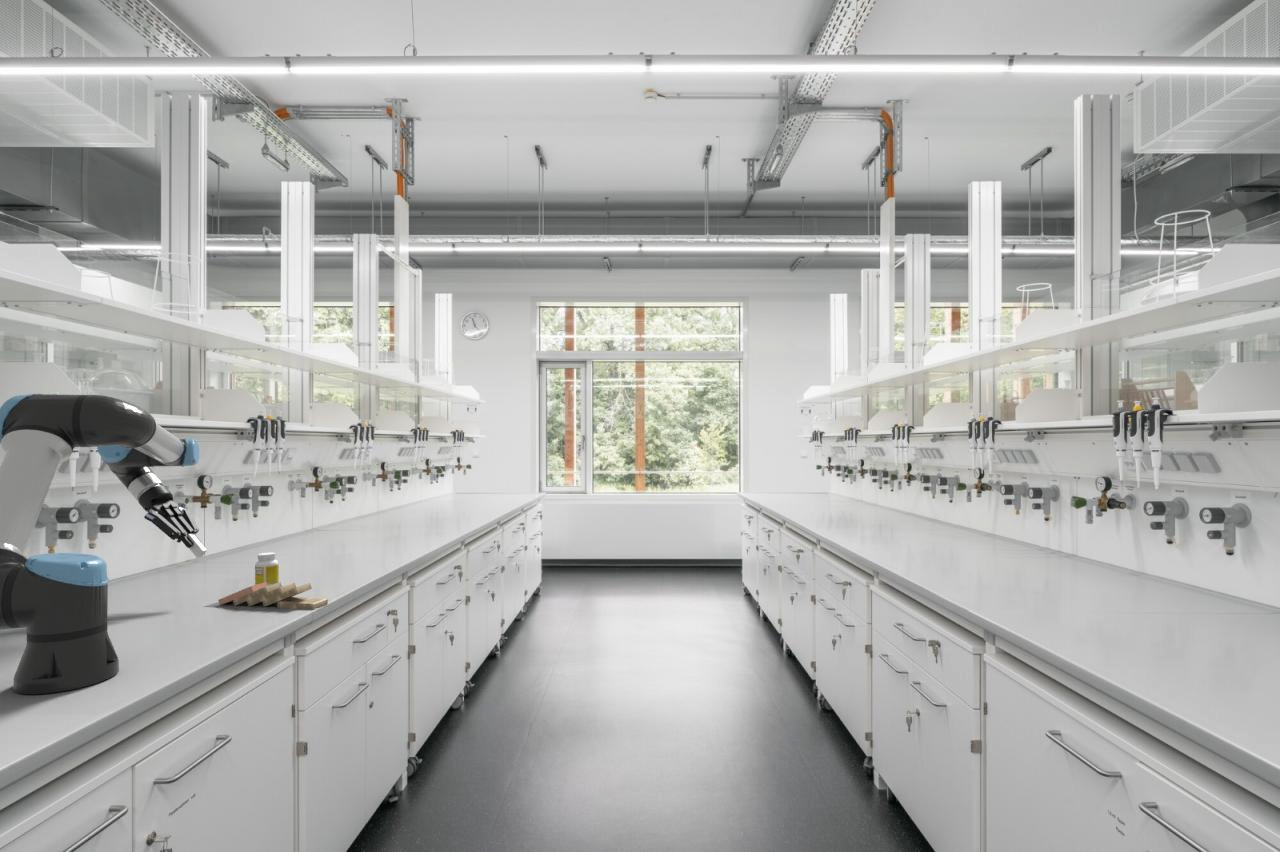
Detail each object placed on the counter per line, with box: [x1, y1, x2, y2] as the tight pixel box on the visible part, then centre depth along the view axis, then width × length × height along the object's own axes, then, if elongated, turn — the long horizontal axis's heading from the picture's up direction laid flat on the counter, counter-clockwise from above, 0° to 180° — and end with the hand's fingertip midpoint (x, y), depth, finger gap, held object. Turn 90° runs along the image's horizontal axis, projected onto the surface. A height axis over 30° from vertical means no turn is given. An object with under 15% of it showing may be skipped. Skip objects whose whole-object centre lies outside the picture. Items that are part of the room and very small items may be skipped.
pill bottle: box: [254, 552, 280, 586], centre depth 204 cm, size 6×6×11 cm
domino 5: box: [277, 596, 329, 610], centre depth 183 cm, size 2×6×11 cm
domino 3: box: [247, 582, 297, 606], centre depth 185 cm, size 2×6×11 cm
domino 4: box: [262, 582, 313, 607], centre depth 184 cm, size 2×6×11 cm
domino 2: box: [233, 581, 283, 606], centre depth 186 cm, size 2×6×11 cm
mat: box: [203, 601, 280, 611], centre depth 186 cm, size 22×9×1 cm, turn 79°
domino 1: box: [217, 582, 268, 605], centre depth 187 cm, size 2×6×11 cm
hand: (202, 554), depth 189 cm, fingers closed
